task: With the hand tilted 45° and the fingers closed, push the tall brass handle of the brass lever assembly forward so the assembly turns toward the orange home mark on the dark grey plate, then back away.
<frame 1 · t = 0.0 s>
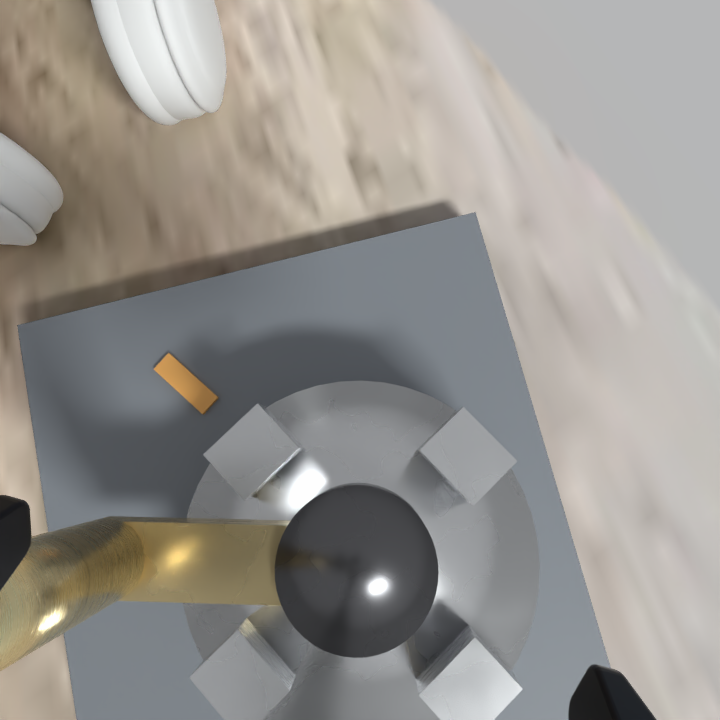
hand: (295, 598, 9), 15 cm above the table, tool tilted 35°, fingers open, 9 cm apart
brass lever assembly: (292, 584, 15), point 8 cm above the table, hinge at 0.0°
housing plate: (361, 536, 23), on the table
headphones: (38, 58, 27), on the table
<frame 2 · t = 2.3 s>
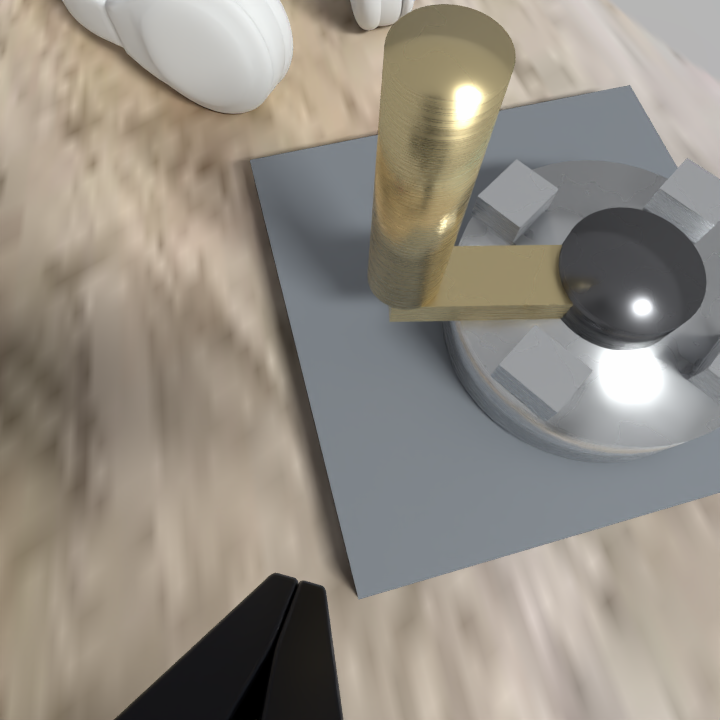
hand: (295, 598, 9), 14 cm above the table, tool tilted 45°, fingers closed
brass lever assembly: (613, 235, 17), point 8 cm above the table, hinge at 1.5°
housing plate: (566, 337, 25), on the table
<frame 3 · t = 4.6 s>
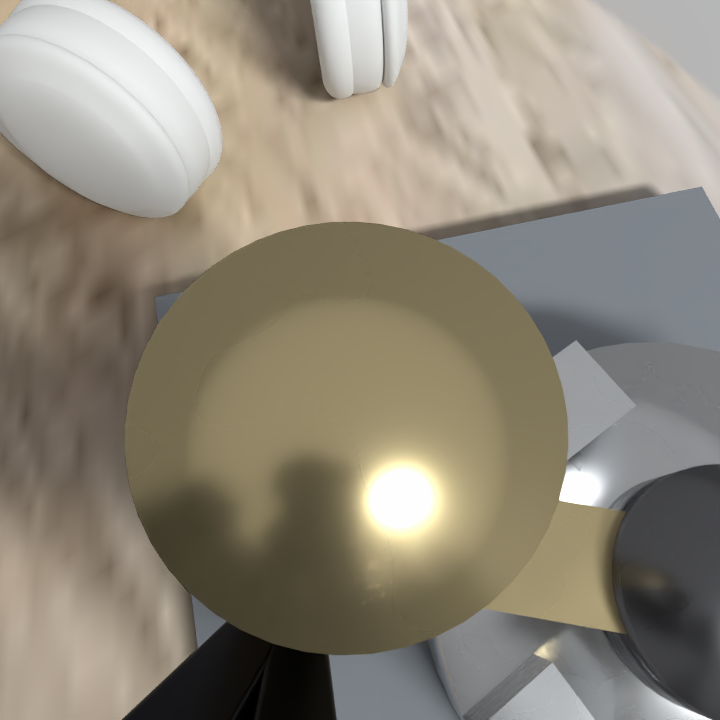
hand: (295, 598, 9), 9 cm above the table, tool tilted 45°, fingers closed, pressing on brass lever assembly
housing plate: (608, 582, 17), on the table
headphones: (176, 43, 25), on the table
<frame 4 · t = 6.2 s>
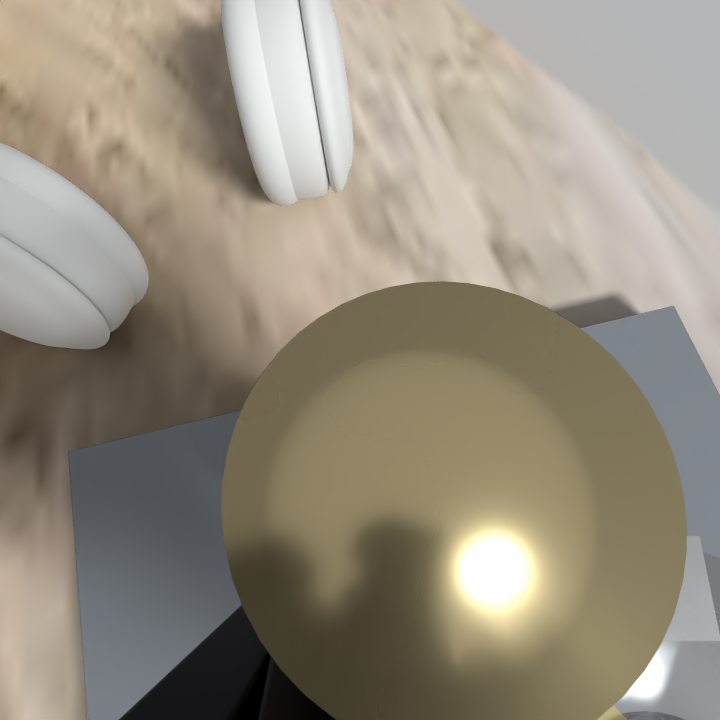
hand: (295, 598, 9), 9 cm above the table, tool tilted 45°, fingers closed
headphones: (112, 135, 23), on the table
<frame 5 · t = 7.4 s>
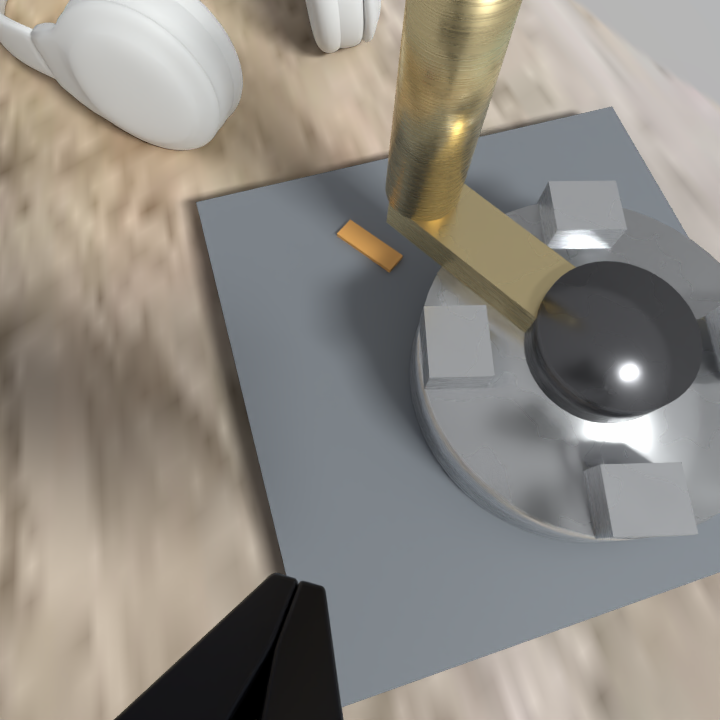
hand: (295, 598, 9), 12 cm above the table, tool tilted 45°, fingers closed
brass lever assembly: (605, 266, 15), point 8 cm above the table, hinge at -45.1°
housing plate: (549, 391, 23), on the table
headphones: (190, 15, 30), on the table
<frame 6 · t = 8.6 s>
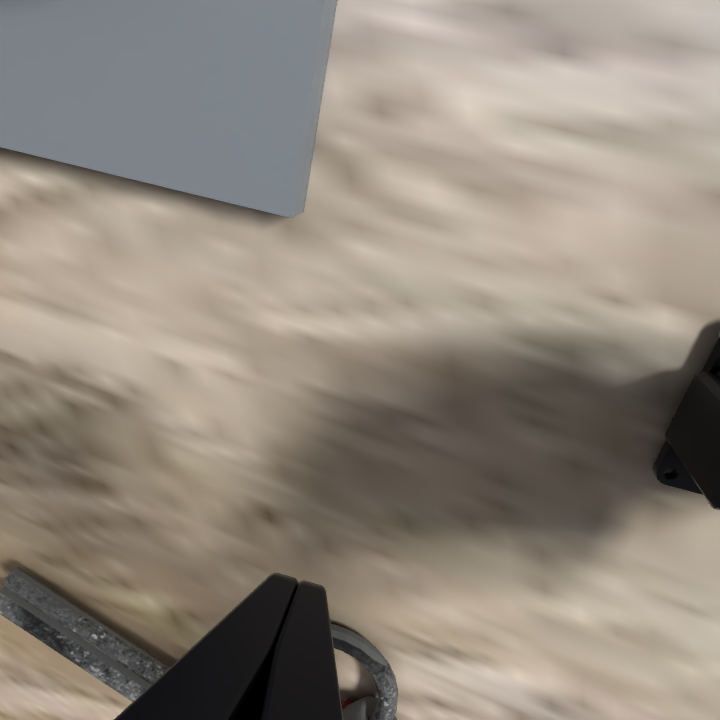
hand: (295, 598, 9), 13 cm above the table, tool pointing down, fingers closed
valve: (247, 664, 30), on the table
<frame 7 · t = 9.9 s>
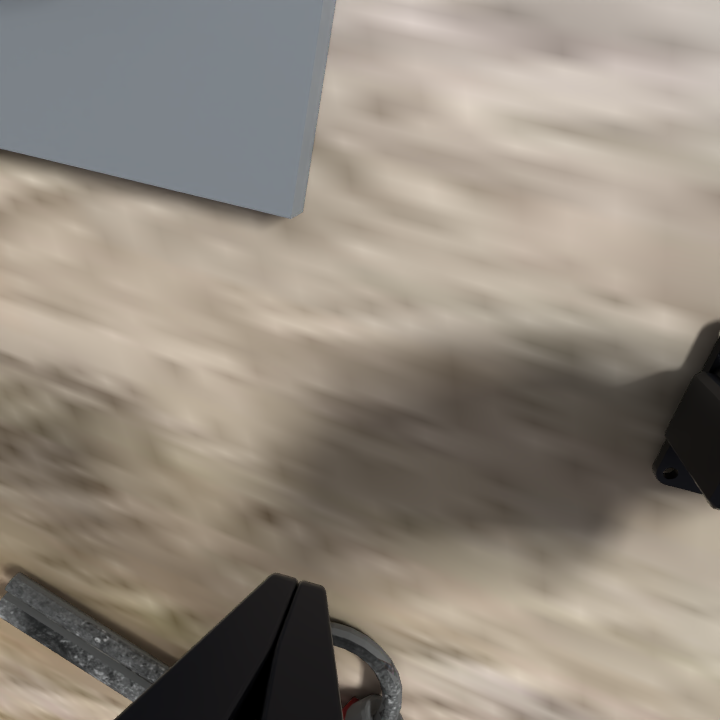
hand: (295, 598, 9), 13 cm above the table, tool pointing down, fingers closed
valve: (251, 665, 30), on the table
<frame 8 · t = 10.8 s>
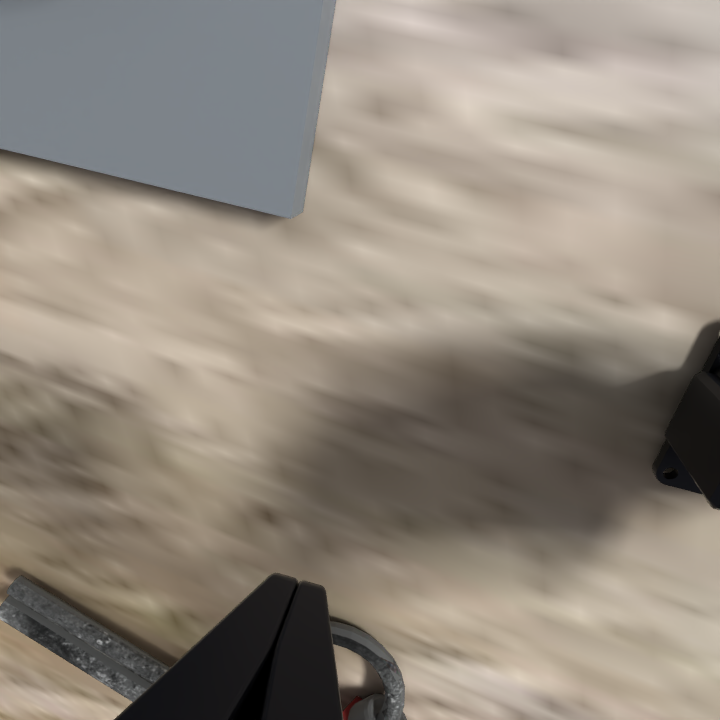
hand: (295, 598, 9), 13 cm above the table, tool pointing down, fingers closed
valve: (254, 666, 30), on the table
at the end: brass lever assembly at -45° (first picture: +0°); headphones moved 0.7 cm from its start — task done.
